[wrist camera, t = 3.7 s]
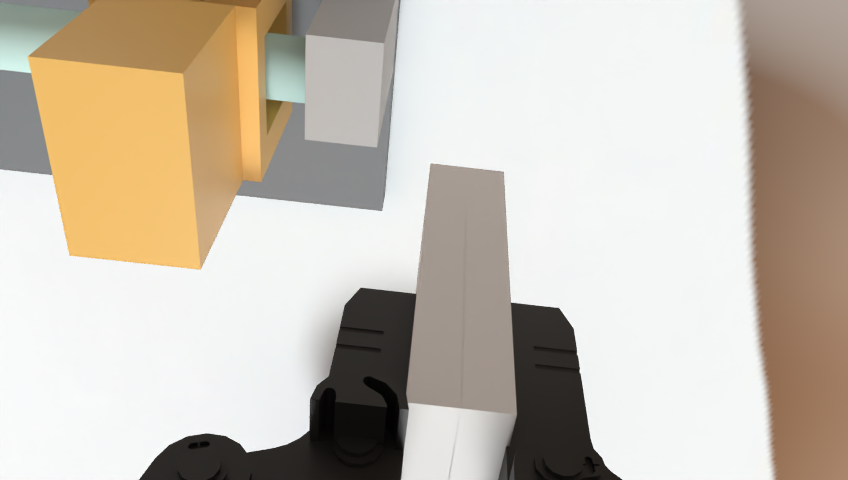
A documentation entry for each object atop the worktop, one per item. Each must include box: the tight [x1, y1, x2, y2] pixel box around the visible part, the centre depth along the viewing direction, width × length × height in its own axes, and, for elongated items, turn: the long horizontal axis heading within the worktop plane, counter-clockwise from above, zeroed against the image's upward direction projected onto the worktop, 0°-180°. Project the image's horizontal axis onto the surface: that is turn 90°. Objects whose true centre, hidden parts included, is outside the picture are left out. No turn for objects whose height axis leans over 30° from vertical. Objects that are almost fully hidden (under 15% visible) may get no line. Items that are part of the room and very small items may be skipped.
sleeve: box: [28, 0, 292, 270], centre depth 20 cm, size 5×4×8 cm
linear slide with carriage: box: [0, 0, 400, 211], centre depth 22 cm, size 14×20×9 cm
